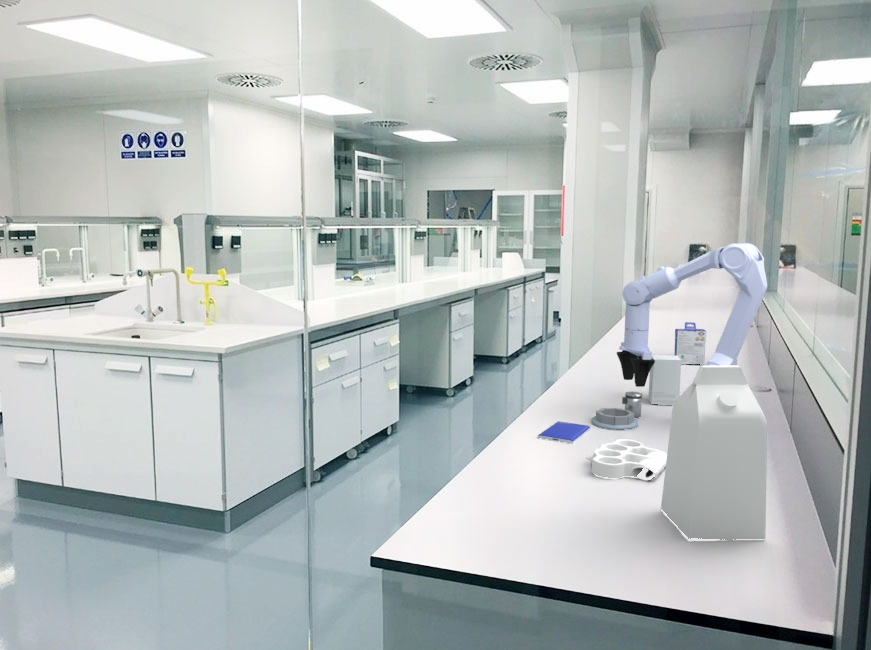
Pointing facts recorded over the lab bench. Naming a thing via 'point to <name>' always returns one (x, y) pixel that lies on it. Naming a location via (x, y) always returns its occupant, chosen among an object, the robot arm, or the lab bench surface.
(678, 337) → the ink cartridge box
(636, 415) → the silver metal canister
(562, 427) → the hard drive
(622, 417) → the collar
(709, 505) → the milk
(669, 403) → the supplement box
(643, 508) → the lab bench surface
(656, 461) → the white holed flat tray
